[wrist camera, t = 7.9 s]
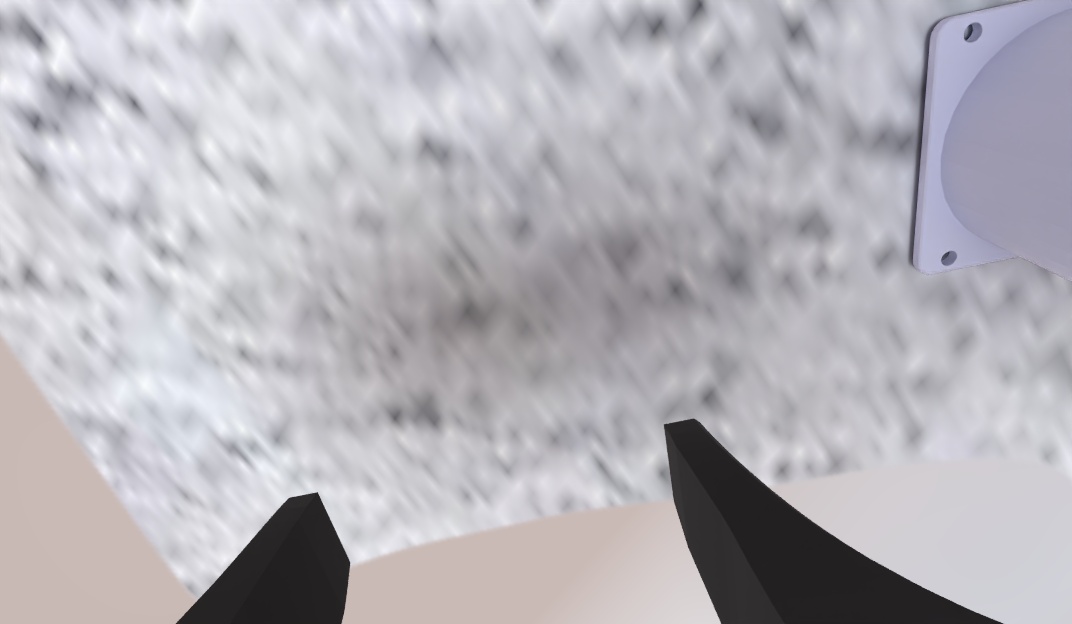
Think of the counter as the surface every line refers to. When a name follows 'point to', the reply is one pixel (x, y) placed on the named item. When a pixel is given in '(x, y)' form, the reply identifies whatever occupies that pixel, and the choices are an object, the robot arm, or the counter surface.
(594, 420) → the counter surface
